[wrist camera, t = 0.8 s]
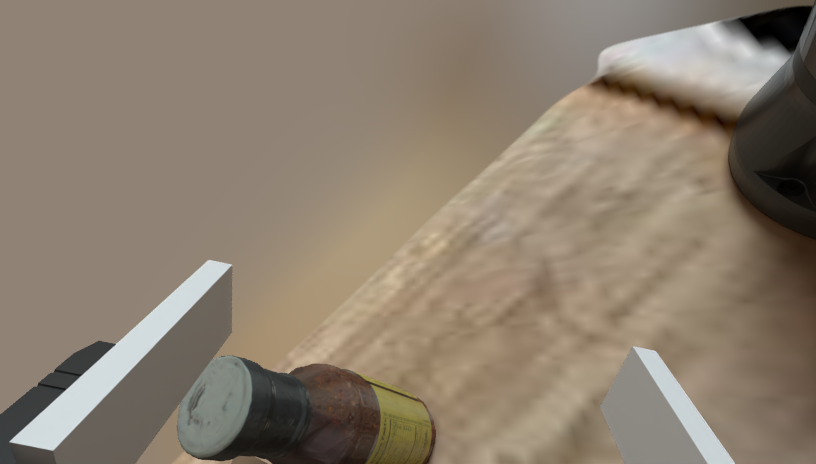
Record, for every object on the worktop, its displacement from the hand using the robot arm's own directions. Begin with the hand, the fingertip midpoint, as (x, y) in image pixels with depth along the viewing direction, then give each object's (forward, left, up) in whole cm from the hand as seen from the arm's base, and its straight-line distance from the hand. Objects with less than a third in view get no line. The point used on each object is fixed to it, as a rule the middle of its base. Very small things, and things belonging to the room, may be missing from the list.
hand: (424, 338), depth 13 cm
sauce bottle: (+9, +4, -21) cm, 23 cm away
